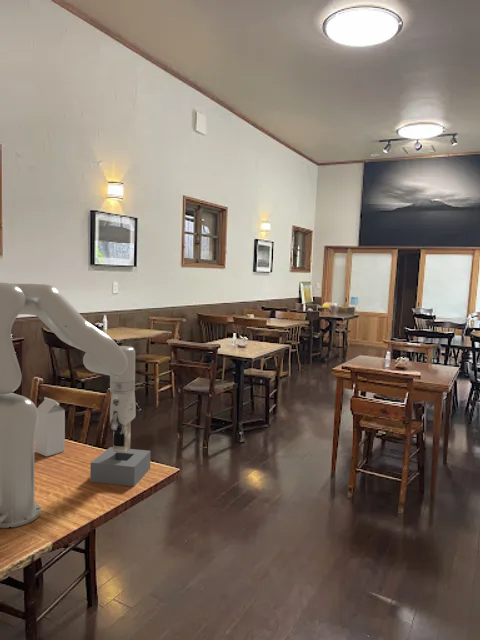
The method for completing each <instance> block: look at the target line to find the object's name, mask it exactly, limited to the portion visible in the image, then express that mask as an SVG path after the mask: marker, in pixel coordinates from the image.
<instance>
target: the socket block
mask: <svg viewBox="0 0 480 640" xmlns="http://www.w3.org/2000/svg"><path fill="white" fill-rule="evenodd" d="M150 469H151V450H146V449H134V448H130V449H129V450H128V451H127V452H126V453H123V452H113V446H110V447H108V448H107V449H105V451H103V452H102V453H101V454H100V455H98V456H97V457H96V458H95V459H93V460H92V461H91V462H90V471H89V472H90V474H89V475H90V478H89V479H90V482H91V483H98V484H107V485H118V486H127V487H135V486H137V484H138V483H139V482H140V481H141V479H143V477H144V476H145V475H147V473H148V472H149V471H150ZM148 470H149V471H148Z"/></svg>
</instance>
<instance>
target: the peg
mask: <svg viewBox="0 0 480 640" xmlns="http://www.w3.org/2000/svg"><path fill="white" fill-rule="evenodd" d="M131 422H132V421H130V422H129V423H128V424H126V425H124V428H123V434H124V446H123V447H121V446H114V434H113V433H112V435H113V437H112V439H113V440H112V447H113V452H123V453H126V452H127V451H128V450H129V449H131V431H132V430H131ZM118 423H120V422H118ZM118 427H119V428H121V426H118Z"/></svg>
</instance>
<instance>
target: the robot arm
mask: <svg viewBox="0 0 480 640" xmlns="http://www.w3.org/2000/svg"><path fill="white" fill-rule="evenodd" d="M19 315H30V316H36V317H37V318H39V320H40V321H42V323H43V324H44V325H45V326H46V327H48V329H49V330H51V332H53V334H54V335H56V337H57V338H58V339H59V340H60V341H62V342H63V343H65V344H67V345H68V346H71V347H74V348H75V349H77V350H80V351H83V352H84V353H85V354H84V355H83V357H82V362H83V363H82V364H83V365H84V367H85V368H86V369H87V370H88V371H90V372H92V373H96V374H102V375H105V376H109V379H110V380H109V392H110V393H111V396H110V406H109V421H110V422H109V423H110V424H111V427H110V429H111V430H112V431H113V433H112V435H113V434H114V446H121V447H123V446H124V434H123V428H124V425H126V424H128V423H129V422H130V421H131V422H132V421H133V420H134V419H136V415H137V414H136V413H137V410H136V409H137V406H136V404H137V403H136V393H135V390H136V350H135V348H134V347H133V346H127V345H118V344H117V342H116V341H115V340H114V339H113V338H111V337H110V336H109V335H108V334H106V333H105V332H104V331H103V330H101V329H99V328H97V327H96V326H95V325H94V324H92V323H91V322H89V321H88V320H87V319H86V318H84V316H82V315H81V314H80V312H79V311H77V309H76V308H75V307H74V305H72V303H71V302H70V301H69V300H68V299H67V298H66V297H65V295H63V294H62V293H61V291H60V290H59V289H58V288H57V287H54V286H53V285H49V284H43V283H11V282H10V283H9V282H0V528H1V529H9V527H11V528H17V527H20V526H24V525H27V524H29V523H31V522H33V521H34V520H36V519H38V518H39V516H40V515H41V514H42V513H41V512H42V508H41V505H40V504H39V503H38V502H35V431H36V426H37V421H38V411H37V408H38V407H37V406H36V404H35V403H34V402H33V401H32V400H31V399H30V398H29V397H27V396H24V395H20V394H17V393H14V392H15V391H16V390H18V389H19V387H20V386H21V383H22V380H23V379H22V378H23V377H22V376H23V375H22V372H21V368H20V363H19V360H18V357H17V354H16V351H15V347H14V343H13V340H12V328H13V324H14V323H15V321H16V319H17V317H18V316H19ZM118 422H120V423H118ZM118 426H121V428H119V427H118Z"/></svg>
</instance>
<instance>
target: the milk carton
mask: <svg viewBox="0 0 480 640" xmlns="http://www.w3.org/2000/svg"><path fill="white" fill-rule="evenodd" d="M43 398H44V400H43V401H42V402H41V403H40V404H39V405H38V407H36V408H37V411H38V421H37V426H36V431H35V441H34V453H37V454H40V455H42V456H45V457H50V456H53V455H57V454H60V453H62V452H65V450H66V448H65V446H66V445H65V443H66V438H65V437H66V432H65V431H66V429H65V428H66V414H65V412H66V410H65V409H64V408H63V407H61V406H60V403H59V402H57V400H55V399H52V398H48V397H45V396H44V397H43Z"/></svg>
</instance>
